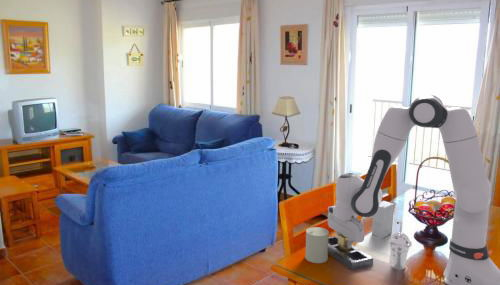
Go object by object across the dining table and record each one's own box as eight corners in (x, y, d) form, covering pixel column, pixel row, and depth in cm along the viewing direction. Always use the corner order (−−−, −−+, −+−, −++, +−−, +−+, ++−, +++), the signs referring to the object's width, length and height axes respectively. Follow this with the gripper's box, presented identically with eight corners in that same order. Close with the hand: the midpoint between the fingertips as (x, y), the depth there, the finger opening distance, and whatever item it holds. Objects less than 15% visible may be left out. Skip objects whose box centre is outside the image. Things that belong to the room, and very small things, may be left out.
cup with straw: (414, 268, 167) (418, 219, 163) (398, 274, 163) (401, 223, 159) (397, 259, 174) (400, 212, 170) (381, 265, 170) (384, 216, 166)
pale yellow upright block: (351, 250, 177) (352, 236, 176) (343, 252, 175) (343, 238, 174) (345, 246, 181) (346, 233, 179) (337, 248, 179) (338, 234, 178)
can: (301, 255, 178) (301, 227, 176) (320, 251, 182) (321, 224, 179) (311, 264, 170) (312, 236, 168) (332, 261, 173) (333, 232, 171)
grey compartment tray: (372, 265, 170) (373, 258, 169) (351, 270, 166) (352, 262, 165) (337, 242, 191) (337, 235, 191) (317, 245, 187) (318, 239, 187)
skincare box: (381, 230, 205) (383, 200, 202) (392, 234, 200) (394, 203, 197) (371, 234, 200) (372, 203, 197) (382, 238, 195) (384, 207, 192)
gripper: (369, 220, 167) (367, 253, 170) (338, 204, 185) (336, 234, 188) (355, 222, 164) (354, 256, 167) (325, 206, 183) (324, 237, 185)
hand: (344, 244), depth 178 cm, fingers closed on pale yellow upright block, 4 cm apart
